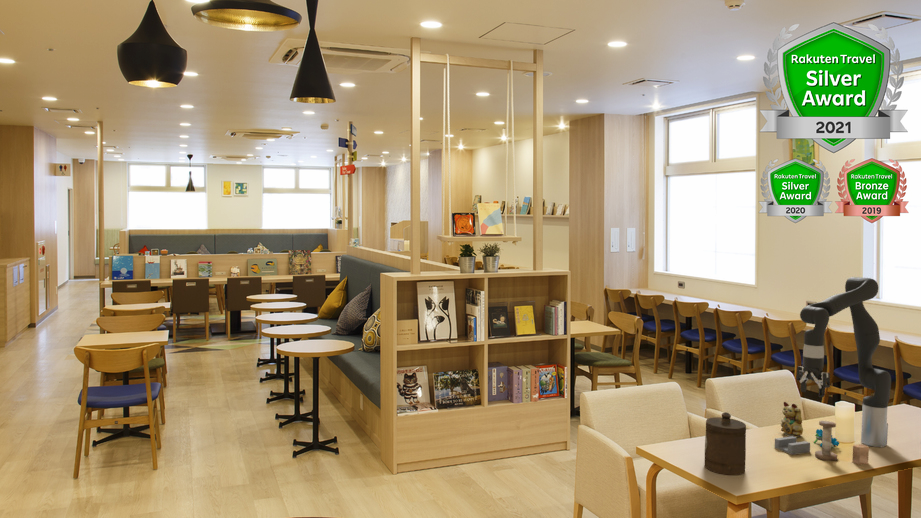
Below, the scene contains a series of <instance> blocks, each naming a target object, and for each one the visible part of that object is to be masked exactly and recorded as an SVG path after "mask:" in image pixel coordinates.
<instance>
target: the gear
mask: <svg viewBox="0 0 921 518" xmlns="http://www.w3.org/2000/svg"><path fill="white" fill-rule="evenodd" d="M814 436H815V440H814V441H813V443H814V444H816V443H817V442H818V441H821V443H820V445H819V446H820V448H822V436H823V429H822V428H820V429H819V428H816V431H815V435H814ZM839 444H840V442H839V441H838V439H837V438H836V437H833V435H831V446H833V445H835V447H838V446H840V445H839Z"/></svg>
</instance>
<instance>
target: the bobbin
mask: <svg viewBox="0 0 921 518" xmlns="http://www.w3.org/2000/svg"><path fill="white" fill-rule="evenodd" d="M818 425H819V426H821V427H822V431H823V436H822V441H821V443H822V447H821V450H816V451H814V456H815V458H817V459H820V460H822V461H827V462H834V461H835V462H836V461H837V460H838V454H836V453H834V452H832V444H831V435H832V434H833V433H832V431H833V428H836V427H837V423H835V422H833V421H830V420H819V422H818ZM832 436H833V435H832Z"/></svg>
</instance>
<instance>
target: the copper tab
mask: <svg viewBox="0 0 921 518" xmlns="http://www.w3.org/2000/svg"><path fill="white" fill-rule="evenodd" d="M869 450H870V446H869V445H866V444H863V443H860V444H853V445H852V461H851V462H852V463H853V464H855V463H856V465H858V464H859V465H858V466H861V464H862V465H868V464H869V455H870V453H869V452H870V451H869ZM867 463H868V464H867Z"/></svg>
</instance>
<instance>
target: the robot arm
mask: <svg viewBox="0 0 921 518" xmlns="http://www.w3.org/2000/svg"><path fill="white" fill-rule="evenodd" d="M844 289H845V290H844V291H845V292H841V293H836V294H834V295H831V296H828V297H827V298H825V299H824V300H822V301H819V302H815V303H812V304H809V305H806V306H804V307H803V308H802V309H801V311H800V313H799V318H800V320H801V321H802V322H803V323H806V324H809V325H814V327H813V329H806V330H805V331H804V336H803V337H804V338H803V340H804V341H803V348H802V352H803V353H802V366H801V365H800V366H799V365H798V366H796V376H795V377H796V378H795V379H796V381H799V383H800V391H801V392H802V393H807V389H808V388H807V384H808V383H807V382H808V381H810V380H811V381H814V382H815V384H817V386H818V398H824V397H825V395H826V389H827V388H830V387H831V378H830V377H831V376H830V372H824V371H823V368H824V363H825V348H824V344H825V343H824V341H825V340H824V339H825V338H824V337H825V333H826V330H827V327H828V325H829V321H830V317H833V316H835V315H836V314H838V313H840V312H841V311H843V310H845V309H847V308H849V311H850V315H851V321H852V326H853V335H854V340H855V345H856V353H857V354H856V355H857V363H858V364H857V365H858V369H857V370H858V380H859V383H860V385H861V386H862V387H863V388H865V389H869V390H874V393H873V395H868V396H863V398H862V406H861V407H862V411H861V431H860V433H861V434H860V436H861V437H860V442H861V444H863V445H866V446H869V447H875V448H885V447H886V446H887V445H888V436H889V434H888V432H889V424H888V423H887V422H888V406H889V405H888V404H889V402H890V396H891V388H892V377H891V374H890V372H888V371H887V370H884V369H879V368H874V367H873V359H872V358H873V356H874V353H875V351H876V350H877V349H878V346H879V345H880V343H881V337H880V330H879V326H878V324H877V322H876V321H875V319H874V318H873V317H872V316H871V315H870V313H869V312H868V310H867V309H866V307H865V305H864V302H866V301H869V300H872V299H874V298H875V297H876V296H877V294H878V293H879V284H878V282H877V281H876V280H875V279H874V278H871V277H860V276H851V277H848V278H847V279H846V281H845V285H844Z"/></svg>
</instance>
